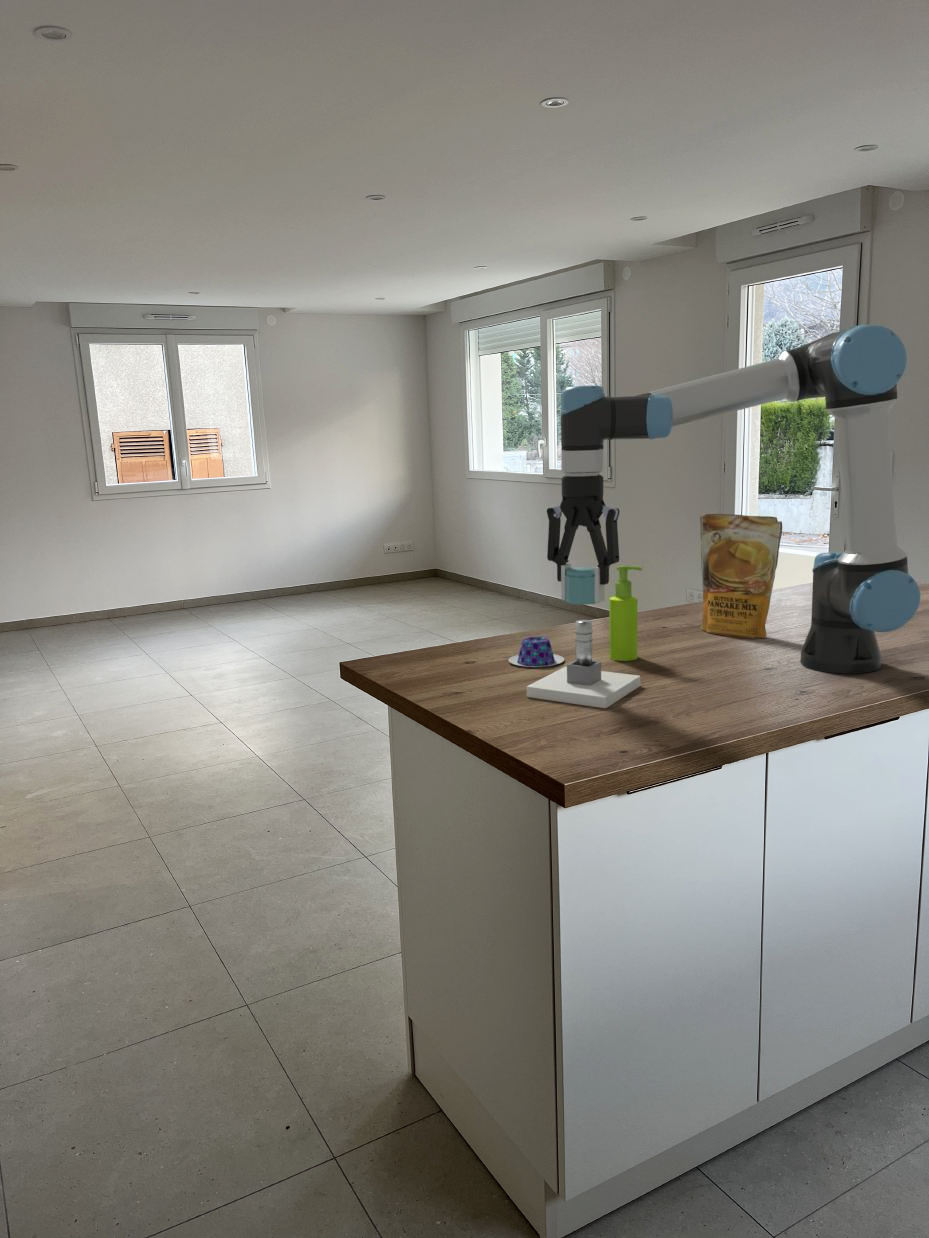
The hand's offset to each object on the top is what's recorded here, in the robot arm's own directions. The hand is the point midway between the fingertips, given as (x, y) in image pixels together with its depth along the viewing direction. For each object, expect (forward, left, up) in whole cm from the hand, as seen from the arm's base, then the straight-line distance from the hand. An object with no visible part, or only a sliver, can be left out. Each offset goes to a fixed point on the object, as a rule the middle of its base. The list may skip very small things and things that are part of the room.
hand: (582, 600), depth 167 cm
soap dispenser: (+3, -27, -18) cm, 32 cm away
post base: (0, 0, -18) cm, 18 cm away
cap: (0, 0, 0) cm, 0 cm away
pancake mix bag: (-11, -59, -18) cm, 63 cm away
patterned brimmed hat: (+19, -16, -18) cm, 31 cm away
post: (0, 0, -14) cm, 14 cm away
